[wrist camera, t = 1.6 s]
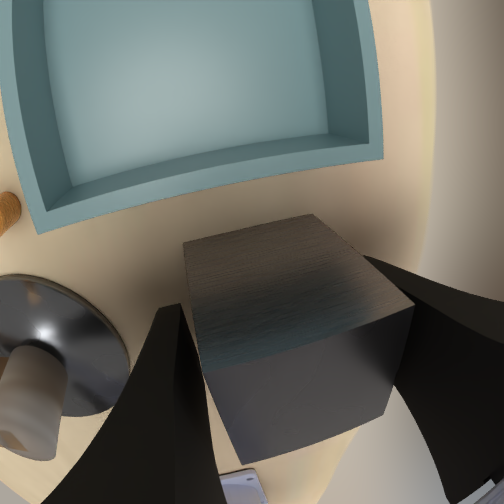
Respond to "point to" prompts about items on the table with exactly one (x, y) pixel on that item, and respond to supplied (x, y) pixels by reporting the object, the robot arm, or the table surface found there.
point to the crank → (31, 402)
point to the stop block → (293, 333)
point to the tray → (180, 96)
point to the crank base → (62, 332)
